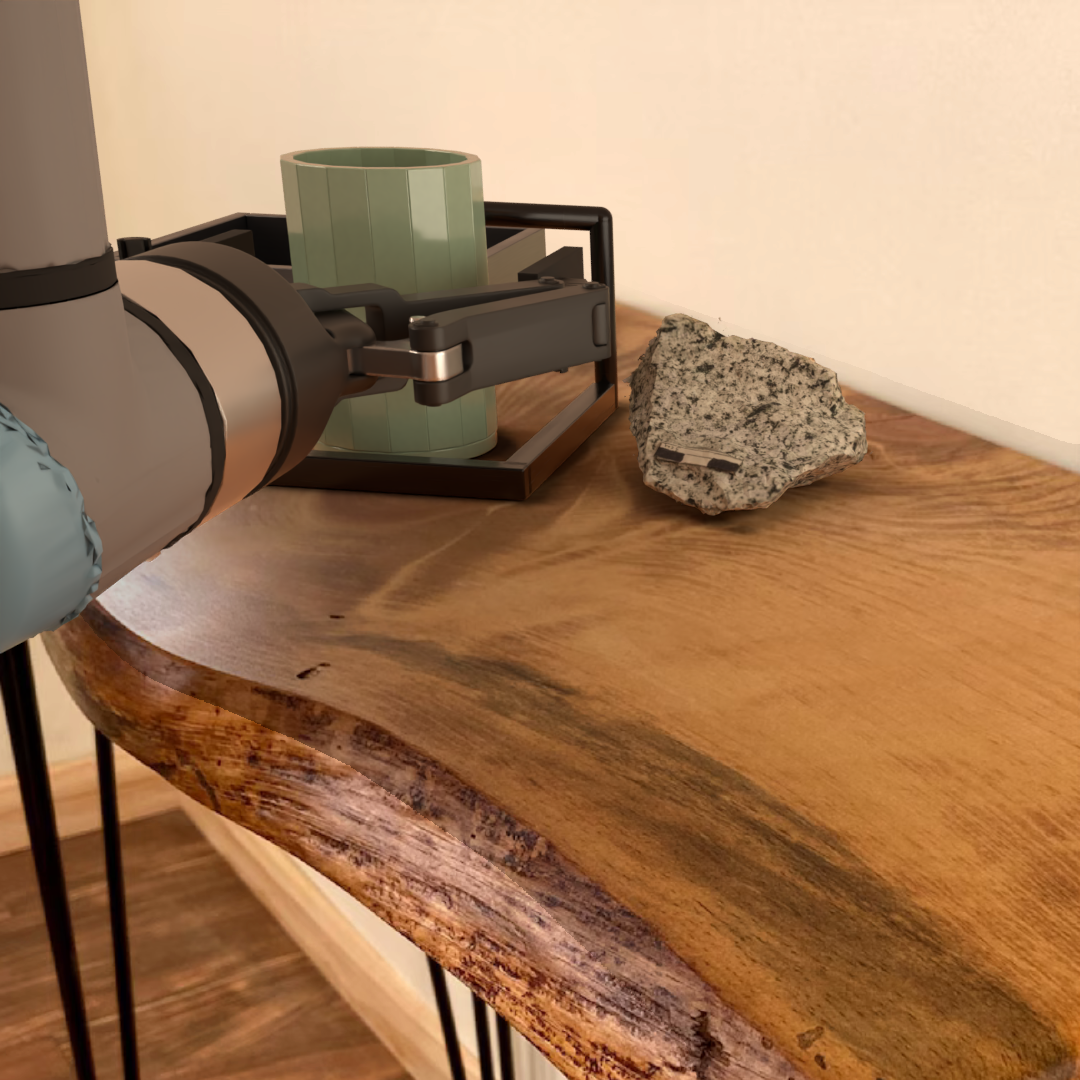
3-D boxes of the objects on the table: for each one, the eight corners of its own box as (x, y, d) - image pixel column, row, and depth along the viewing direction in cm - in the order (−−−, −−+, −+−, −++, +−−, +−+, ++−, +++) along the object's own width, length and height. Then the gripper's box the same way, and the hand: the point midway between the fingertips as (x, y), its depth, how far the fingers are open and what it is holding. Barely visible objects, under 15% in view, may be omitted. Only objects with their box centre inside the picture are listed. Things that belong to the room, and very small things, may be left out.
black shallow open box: (105, 350, 87) (91, 258, 85) (246, 291, 101) (237, 212, 99) (457, 370, 85) (450, 276, 83) (548, 307, 100) (545, 227, 98)
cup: (282, 461, 70) (247, 163, 65) (351, 417, 76) (323, 143, 71) (466, 472, 69) (444, 172, 64) (519, 427, 76) (503, 151, 71)
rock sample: (567, 416, 61) (678, 224, 64) (553, 505, 69) (653, 330, 71) (832, 558, 63) (931, 363, 65) (790, 631, 70) (881, 454, 72)
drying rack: (163, 478, 67) (128, 243, 63) (319, 388, 81) (298, 190, 77) (525, 501, 66) (512, 263, 62) (620, 405, 80) (614, 205, 76)
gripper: (-196, 488, 56) (128, 351, 74) (583, 539, 53) (715, 384, 72) (-258, 237, 52) (98, 159, 71) (573, 280, 50) (714, 188, 69)
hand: (410, 273), depth 72 cm, fingers open, 13 cm apart
